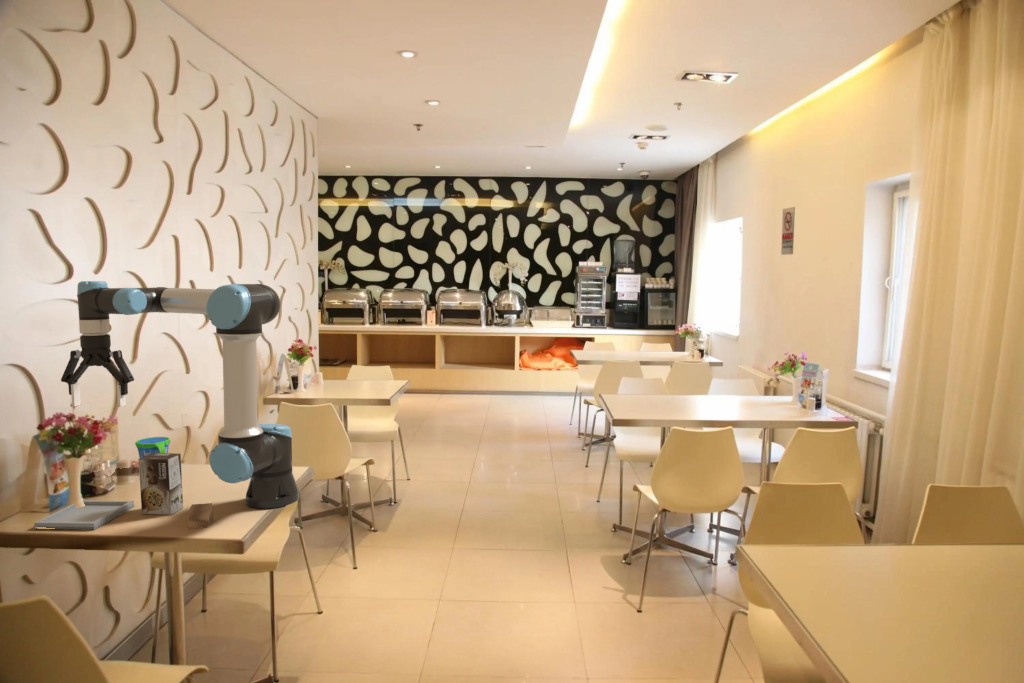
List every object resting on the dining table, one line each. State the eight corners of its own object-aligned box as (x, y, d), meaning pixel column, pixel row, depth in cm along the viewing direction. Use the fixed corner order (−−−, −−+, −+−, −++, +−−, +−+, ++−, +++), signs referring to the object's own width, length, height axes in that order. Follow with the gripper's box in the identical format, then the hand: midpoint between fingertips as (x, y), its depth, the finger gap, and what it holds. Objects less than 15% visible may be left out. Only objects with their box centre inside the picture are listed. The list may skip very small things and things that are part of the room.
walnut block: (212, 520, 184) (211, 503, 184) (208, 527, 179) (208, 509, 179) (192, 522, 183) (192, 504, 183) (188, 528, 178) (187, 510, 178)
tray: (134, 506, 195) (133, 500, 195) (94, 530, 177) (93, 523, 177) (80, 506, 195) (79, 500, 195) (34, 529, 177) (34, 522, 177)
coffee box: (184, 507, 195) (181, 453, 193) (171, 515, 188) (168, 459, 187) (154, 506, 195) (151, 452, 194) (140, 514, 189) (137, 458, 187)
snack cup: (131, 466, 236) (129, 438, 235) (163, 461, 243) (162, 433, 242) (144, 476, 225) (142, 446, 224) (177, 470, 232) (176, 441, 231)
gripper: (144, 333, 199) (148, 403, 201) (61, 332, 199) (66, 403, 201) (129, 335, 191) (133, 408, 193) (43, 335, 192) (48, 408, 194)
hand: (99, 406), depth 197 cm, fingers open, 13 cm apart
